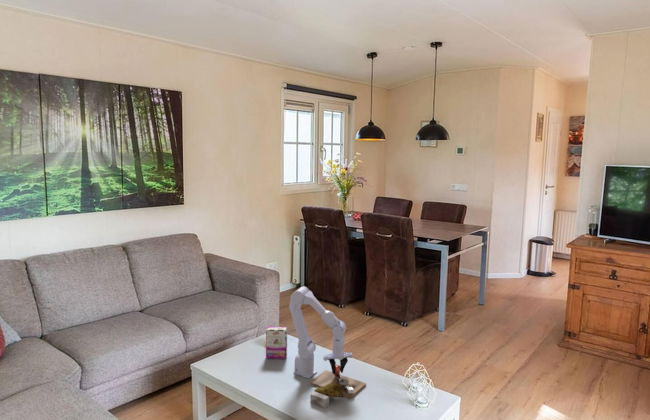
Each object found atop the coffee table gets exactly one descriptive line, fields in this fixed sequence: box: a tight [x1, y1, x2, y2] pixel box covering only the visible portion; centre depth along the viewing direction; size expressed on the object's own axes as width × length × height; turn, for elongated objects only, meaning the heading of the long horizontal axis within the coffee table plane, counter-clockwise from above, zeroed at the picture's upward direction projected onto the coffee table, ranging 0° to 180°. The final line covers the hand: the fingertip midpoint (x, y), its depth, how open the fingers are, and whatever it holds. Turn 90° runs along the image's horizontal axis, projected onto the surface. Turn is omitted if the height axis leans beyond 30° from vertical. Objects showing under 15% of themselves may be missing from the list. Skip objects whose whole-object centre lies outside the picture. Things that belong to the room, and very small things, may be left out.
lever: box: [334, 364, 354, 394], centre depth 220 cm, size 19×4×5 cm, turn 21°
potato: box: [314, 382, 343, 399], centre depth 210 cm, size 8×13×8 cm, turn 61°
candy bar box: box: [265, 326, 288, 360], centre depth 250 cm, size 11×5×16 cm, turn 88°
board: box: [308, 370, 367, 409], centre depth 217 cm, size 23×28×4 cm
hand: (337, 372), depth 228 cm, fingers open, 4 cm apart
